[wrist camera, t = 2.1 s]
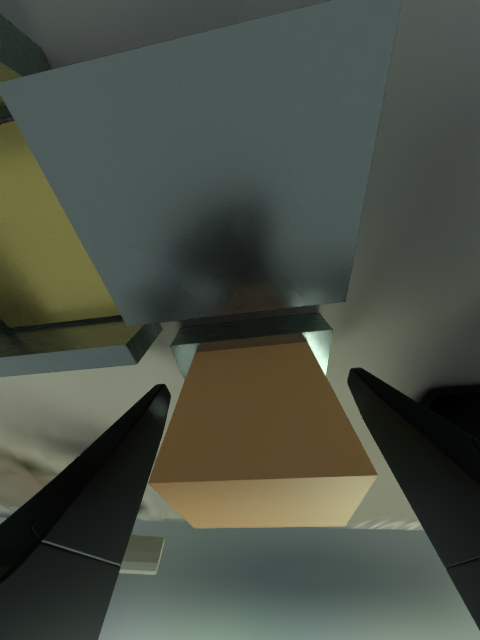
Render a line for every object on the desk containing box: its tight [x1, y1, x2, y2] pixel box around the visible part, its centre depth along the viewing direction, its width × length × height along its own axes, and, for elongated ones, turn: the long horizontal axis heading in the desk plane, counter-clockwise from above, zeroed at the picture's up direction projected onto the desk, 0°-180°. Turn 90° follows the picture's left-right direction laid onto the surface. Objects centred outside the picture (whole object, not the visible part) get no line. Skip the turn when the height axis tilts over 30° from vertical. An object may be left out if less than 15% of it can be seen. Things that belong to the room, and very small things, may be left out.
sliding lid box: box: [0, 0, 402, 377], centre depth 6 cm, size 17×9×2 cm, turn 98°
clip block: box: [148, 342, 378, 528], centre depth 7 cm, size 5×4×4 cm
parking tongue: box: [170, 313, 333, 379], centre depth 9 cm, size 7×5×2 cm
